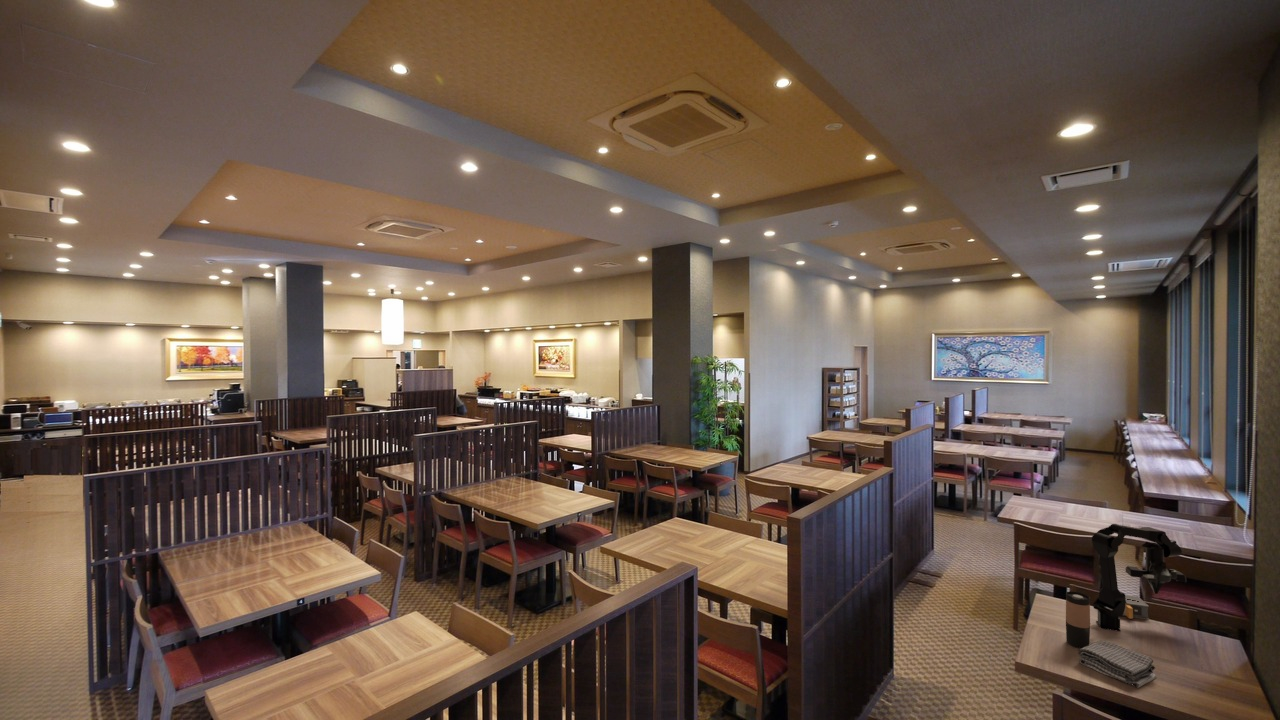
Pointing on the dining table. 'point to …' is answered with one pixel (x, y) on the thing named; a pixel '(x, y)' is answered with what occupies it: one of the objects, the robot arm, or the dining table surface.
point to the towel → (1118, 662)
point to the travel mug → (1077, 619)
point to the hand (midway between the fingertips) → (1155, 593)
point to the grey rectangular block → (1127, 611)
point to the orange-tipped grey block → (1137, 607)
